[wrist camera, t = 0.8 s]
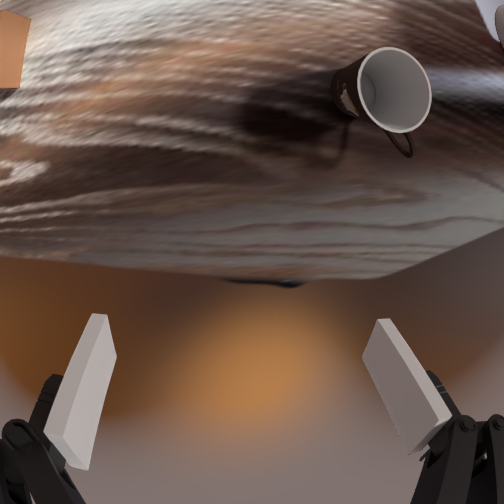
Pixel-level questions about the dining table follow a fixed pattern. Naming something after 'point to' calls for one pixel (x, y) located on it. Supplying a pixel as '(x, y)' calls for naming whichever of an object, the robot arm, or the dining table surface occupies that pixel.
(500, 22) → the cylinder vase
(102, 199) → the dining table surface
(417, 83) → the coffee mug
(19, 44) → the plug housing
